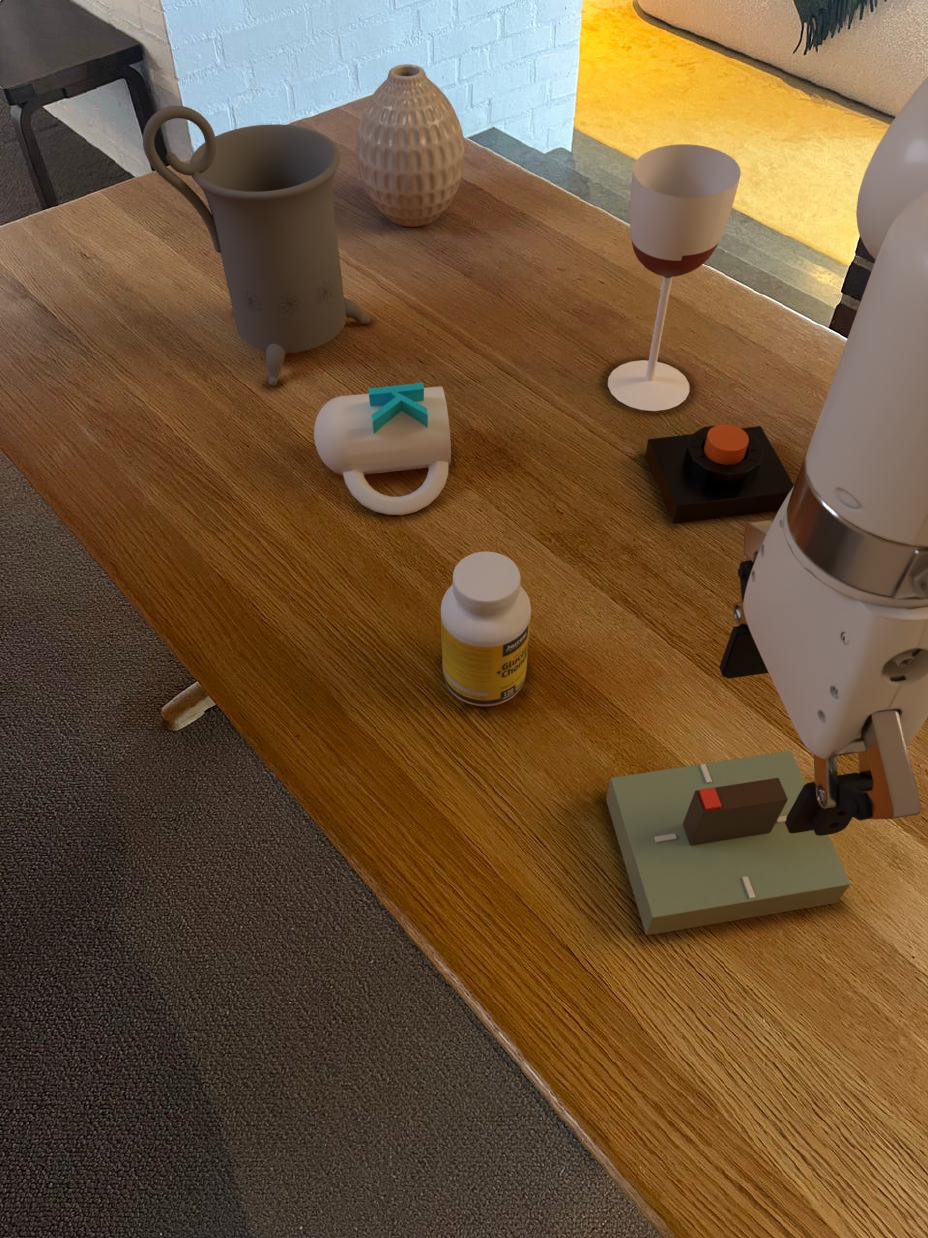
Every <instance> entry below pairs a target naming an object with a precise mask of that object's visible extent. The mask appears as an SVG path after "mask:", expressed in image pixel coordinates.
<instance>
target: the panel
mask: <svg viewBox="0 0 928 1238" xmlns="http://www.w3.org/2000/svg"><path fill="white" fill-rule="evenodd" d="M773 778H779V780H780V782H781V784H782V787H783V789H784V791H785V794H786V796H787V798H788V801H787V802H786V804H785V806H784V808H783V810H782V812H781V814H780V816H779V818H778V819H777V821H776V823H775V825H774V827H773V829H772V831H771V832H770V833H765V834H759V835H753V836H747V837H741V838H734V839H728V840H722V841H716V842H710V843H704V844H697V845H691V846H690V844H689V841H688V838H687V835H686V832H685V829H684V827H683V822H684V819H685V816H686V814H687V811H688V808H689V806H690V803H691V800H692V798H693V795H694V792H695V791H696V790H702V789H709V788H715V787H721V786H728V785H734V784H741V783H747V782H754V781H760V780H766V779H773ZM805 784H807V782H806V780H805V778H804V776H803V773H802V772H801V770H800V767H799V765H798V763H797V760H796V758H795V756H794V754H793V751H792V750H785V751H778V752H771V753H764V754H758V755H753V756H752V755H751V756H745V757H738V758H733V759H726V760H719V761H713V762H706V763H699V764H693V765H686V766H679V767H674V768H667V769H660V770H653V771H647V772H646V771H645V772H642V773H641V772H640V773H634V774H628V775H620V776H614V777H610V780H609V784H608V788H607V793H606V797H605V801H606V804H607V808H608V812H609V814H610V818H611V821H612V825H613V828H614V831H615V836H616V839H617V842H618V845H619V849H620V851H621V856H622V859H623V862H624V866H625V869H626V873H627V877H628V879H629V883H630V886H631V889H632V893H633V896H634V900H635V904H636V907H637V910H638V914H639V917H640V921H641V924H642V927H643V931H644V934H645V936H652V935H658V934H664V933H670V932H674V931H676V932H677V931H680V930H681V931H682V930H687V929H693V928H699V927H704V926H709V925H716V924H722V923H728V922H734V921H739V920H744V919H751V918H757V917H763V916H767V915H775V914H781V913H786V912H787V913H788V912H792V911H798V910H803V909H804V910H805V909H809V908H810V909H811V908H816V907H820V906H827V905H834V904H837V903H838V902H839V901H840V900H841V898H842V897H843V896H844V894H845V893H846V891H847V890H848V889H849V887H850V886H851V881H850V879H849V877H848V875H847V872H846V870H845V867H844V865H843V864H842V861H841V859H840V856H839V855H838V852H837V849H836V848H835V846H834V843H833V841H832V839H831V837H830V834H829V835H823V836H818V835H816V834H815V832H814V830H811V831H805V832H799V833H789V831H788V829H787V826H786V824H785V821H786V817H787V815H788V814H789V812H790V810H791V808H792V806H793V804H794V803H795V801H796V799H797V797H798V795H799V793H800V792H801V790H802V788H803V786H804V785H805Z"/></svg>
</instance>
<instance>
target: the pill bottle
mask: <svg viewBox="0 0 928 1238" xmlns="http://www.w3.org/2000/svg"><path fill="white" fill-rule="evenodd" d="M521 578H522V577H521V572H520V569H519V567H518V565H517V564H516V563H515V561H513V560H512V559H511V558H509V557H508V556H506V555H504V554H502V553H499V552H494V551H478V552H474V553H471V554H469V555H466V556H465V557H463V558H461V560H459V562H458V563H457V564H456V565H455V567H454V570H453V573H452V584H451V585H450V586H449V587H448V589H447V590H446V591H445V593H444V595H443V597H442V600H441V605H440V633H441V637H440V638H441V657H442V658H441V659H442V661H441V662H442V675H443V679H444V682H445V685H446V687H447V688H448V690H449V691H450V693H452V695H454V696H455V697H456V698H457V699H459V700H460V701H462V702H464V703H466V704H469V705H473V706H478V707H493V706H498V705H501V704H503V703H506V702H508V701H510V700H511V699H513V698H514V697H515V696H516V695H517V694H518V693H519V691H521V689H522V688H523V686H524V683H525V680H526V676H527V667H528V656H529V642H530V628H531V616H532V605H531V600H530V598H529V595H528V593H527V592H526V590H525V589H524V587H522V585H521V580H522V579H521Z"/></svg>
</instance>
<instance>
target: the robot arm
mask: <svg viewBox="0 0 928 1238" xmlns="http://www.w3.org/2000/svg"><path fill="white" fill-rule="evenodd" d="M856 203H857V204H856V213H855V216H856V226H857V231H858V235H859V237H860V239H861V242H862V244H863V245H864V247H865V249H866V250H867V252H868V254H869V255H870V256H871V257H872V258H873V259H874V260H875V261H874V264H873V266H872V270H871V272H870V275H869V278H868V281H867V283H866V286H865V288H864V291H863V294H862V297H861V300H860V303H859V304H858V305H859V306H858V308H857V311H856V314H855V317H854V319H853V322H852V325H851V328H850V331H849V333H848V336H847V339H846V342H845V344H844V347H843V350H842V353H841V355H840V359H839V361H838V364H837V367H836V370H835V372H834V375H833V378H832V381H831V384H830V387H829V389H828V392H827V395H826V397H825V399H824V403H823V405H822V409H821V412H820V414H819V417H818V420H817V423H816V425H815V428H814V431H813V433H812V437H811V439H810V442H809V445H808V447H807V450H806V453H805V455H804V457H803V459H802V463H801V466H800V468H799V472H798V474H797V477H796V479H795V483H794V487H793V488H792V490H791V491H790V492H789V494H788V495H787V497H786V499H785V500H784V502H783V504H782V505H781V507H780V509H779V510H777V513H776V514H775V516H774V519H773V520H771V519H765V520H758V521H757V520H756V521H749V522H746V523H745V525H744V533H743V534H744V536H743V538H744V539H743V556H744V557H745V560H743V561H741V562H740V563H739V568H738V569H737V576H738V578H739V582H740V583H739V584H740V593H741V596H740V597H741V601H736V602H734V604H733V606H732V614H733V618H734V621H735V622H736V624H737V625H736V626H735V625H734V626H732V629H731V632H730V636H729V638H728V641H727V643H726V647H725V650H724V652H723V655H722V658H721V661H720V664H719V670H720V673H721V675H722V677H724V678H726V679H736V678H737V679H738V678H743V677H750V676H757V675H764V674H769V676H770V680H771V681H772V683H773V685H774V687H775V689H776V691H777V694H778V696H779V698H780V701H781V702H782V705H783V706H784V709H785V711H786V713H787V715H788V717H789V718H790V721H791V724H792V726H793V727H794V729H795V731H796V734H797V736H798V737H799V739H800V741H801V742H802V744H803V745H804V746H805V748H807V750H809V752H811V754H812V755H813V768H814V769H813V771H814V773H813V775H814V781H810V782H806V784H805V785H804V786H803V788H802V790H801V792H800V793H799V795H798V797H797V799H796V801H795V803H794V804H793V806H792V808H791V810H790V812H789V814H788V815H787V817H786V821H785V824H786V826H787V829H788V831H789V833H799V832H805V831H811V830H814V832H815V834H816V835H818V836H823V835H829V836H830V835H834V834H837V833H840V832H842V831H844V830H846V828H847V827H848V825H849V824H850V822H851V821H852V820H853V818H854V819H856V820H858V821H866V820H873V821H874V820H894V819H899V818H900V819H901V818H907V817H912V816H917V815H920V813H921V811H922V803H921V798H920V794H919V791H918V786H917V783H916V778H915V774H914V771H913V766H912V763H911V758H910V754H909V751H908V746H909V745H910V744H911V743H912V742H913V739H915V737H916V736H917V734H918V733H919V732H920V730H921V728H922V726H923V725H924V723H925V722H926V720H927V718H928V75H927V76H926V78H924V80H923V81H922V82H921V83H920V84H919V85H918V86H917V88H916V89H915V91H914V92H913V93H912V95H911V96H910V97H909V99H907V102H906V103H905V104H904V105H903V107H902V108H901V109H900V111H899V112H898V113H897V115H896V116H895V118H894V119H893V120H892V122H891V123H890V125H889V126H888V128H887V129H886V131H885V132H884V134H883V136H882V138H881V140H880V141H879V143H878V144H877V146H876V147H875V149H874V152H873V154H872V156H871V158H870V161H869V163H868V165H867V166H866V169H865V171H864V174H863V178H862V180H861V183H860V187H859V191H858V194H857V202H856ZM851 754H852V755H853V754H858V772H857V771H855V772H849V773H843V774H838V757H840V756H846V755H851Z"/></svg>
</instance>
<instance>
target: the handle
mask: <svg viewBox="0 0 928 1238" xmlns="http://www.w3.org/2000/svg"><path fill="white" fill-rule="evenodd" d="M787 801H788V798H787V796H786V794H785V791H784V789H783V787H782V784H781V782H780V780H779V778H773V779H766V780H760V781H754V782H747V783H741V784H734V785H728V786H721V787H715V788H709V789H702V790H696V791H695V792H694V795H693V798H692V800H691V803H690V806H689V808H688V811H687V814H686V816H685V819H684V822H683V827H684V829H685V832H686V835H687V838H688V841H689V844H690V846H691V845H697V844H704V843H710V842H716V841H722V840H728V839H734V838H741V837H747V836H753V835H759V834H765V833H770V832H771V831H772V829H773V827H774V825H775V823H776V821H777V819H778V818H779V816H780V814H781V812H782V810H783V808H784V806H785V804H786V802H787Z"/></svg>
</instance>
